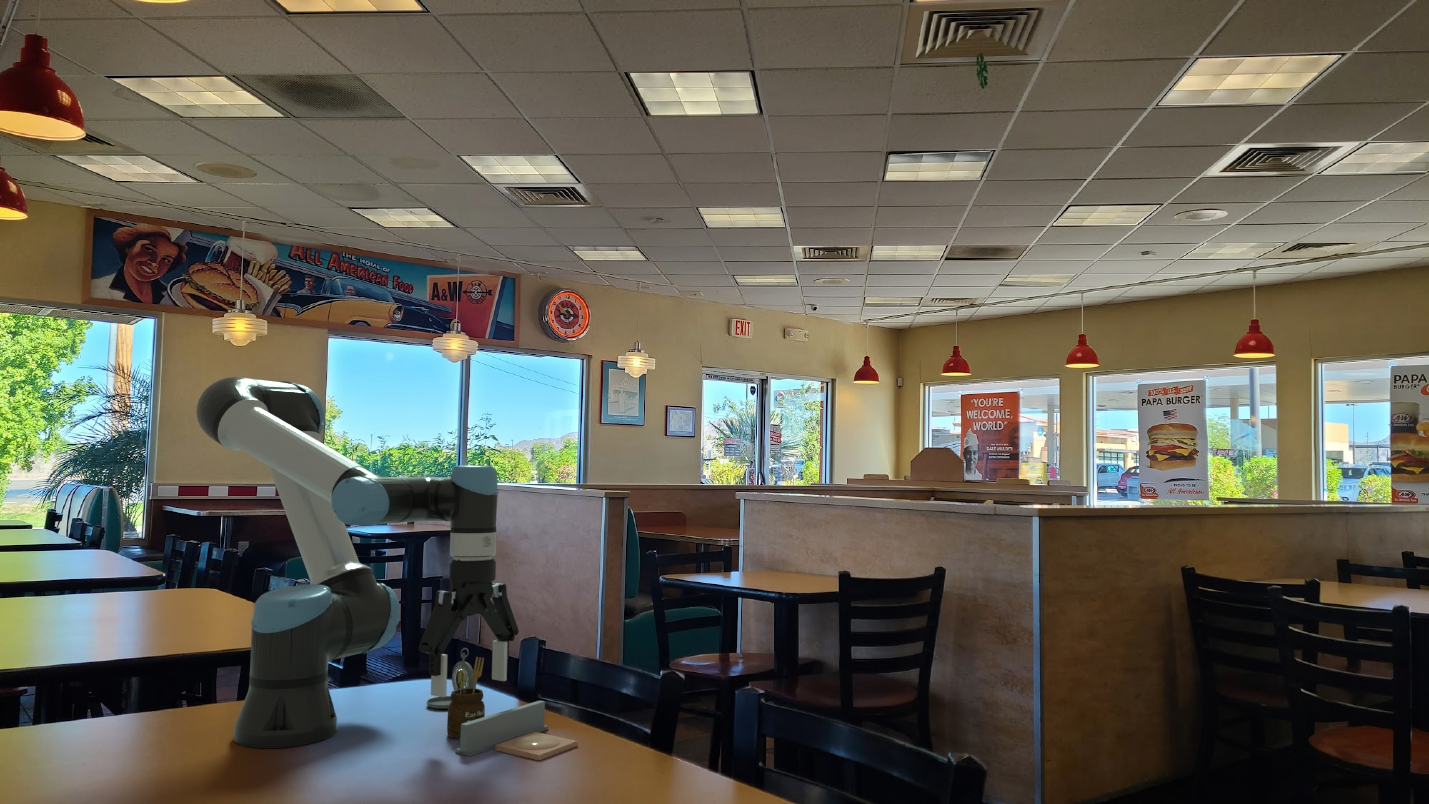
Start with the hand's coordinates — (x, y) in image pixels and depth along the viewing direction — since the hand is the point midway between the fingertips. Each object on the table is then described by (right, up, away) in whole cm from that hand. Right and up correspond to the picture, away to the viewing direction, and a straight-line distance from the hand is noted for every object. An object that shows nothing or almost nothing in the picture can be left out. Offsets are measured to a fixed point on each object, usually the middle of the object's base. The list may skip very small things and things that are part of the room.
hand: (470, 687), depth 156 cm
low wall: (+6, -8, -3) cm, 10 cm away
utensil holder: (-1, -8, 0) cm, 8 cm away
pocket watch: (-8, -9, +18) cm, 22 cm away
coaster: (+12, -7, -7) cm, 16 cm away
